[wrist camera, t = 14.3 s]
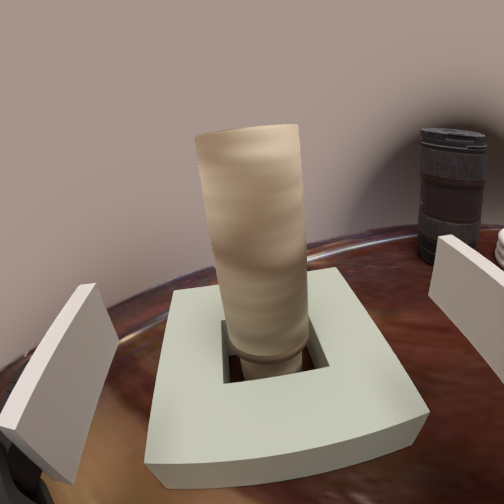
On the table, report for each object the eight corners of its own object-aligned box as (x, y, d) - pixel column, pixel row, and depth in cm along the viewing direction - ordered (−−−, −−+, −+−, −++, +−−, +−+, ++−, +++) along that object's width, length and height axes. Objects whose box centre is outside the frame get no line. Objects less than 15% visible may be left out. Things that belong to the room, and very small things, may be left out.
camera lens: (409, 241, 37) (412, 125, 31) (463, 244, 34) (472, 131, 28) (418, 272, 30) (427, 130, 24) (481, 274, 27) (499, 138, 21)
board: (334, 300, 28) (335, 267, 26) (412, 444, 13) (429, 411, 12) (183, 323, 27) (173, 290, 26) (167, 488, 13) (143, 463, 11)
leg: (300, 349, 23) (287, 123, 16) (316, 398, 18) (312, 125, 12) (236, 360, 22) (197, 134, 16) (240, 410, 18) (187, 139, 11)
